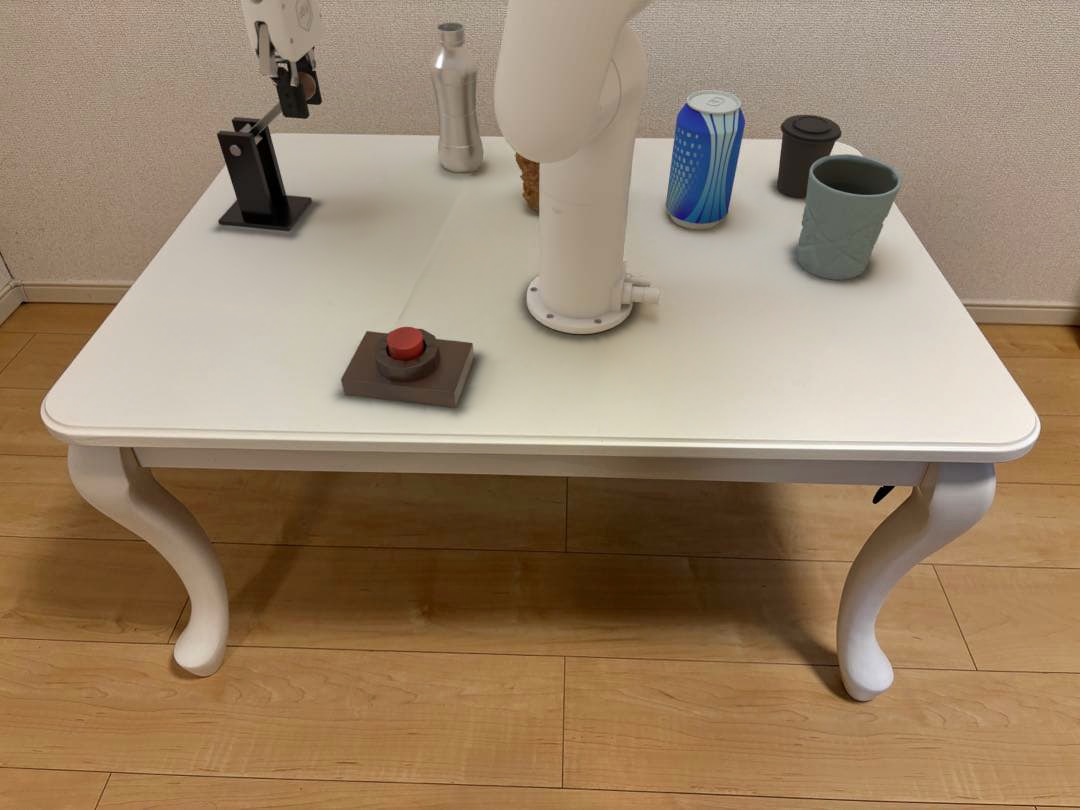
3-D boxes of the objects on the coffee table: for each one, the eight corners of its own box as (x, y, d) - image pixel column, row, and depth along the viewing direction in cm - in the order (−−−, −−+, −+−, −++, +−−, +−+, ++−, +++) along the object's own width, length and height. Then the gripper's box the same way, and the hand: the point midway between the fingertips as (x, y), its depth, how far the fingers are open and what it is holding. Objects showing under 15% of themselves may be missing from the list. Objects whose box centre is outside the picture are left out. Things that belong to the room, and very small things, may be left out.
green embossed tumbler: (886, 277, 94) (919, 189, 86) (812, 289, 93) (839, 200, 84) (843, 234, 101) (870, 148, 93) (773, 244, 100) (795, 158, 91)
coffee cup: (755, 182, 111) (769, 115, 104) (800, 170, 114) (817, 104, 107) (790, 208, 106) (808, 139, 99) (836, 195, 109) (857, 127, 102)
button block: (474, 358, 84) (471, 329, 81) (455, 408, 78) (452, 380, 75) (369, 346, 85) (363, 317, 82) (344, 394, 80) (337, 366, 77)
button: (428, 341, 80) (426, 328, 79) (418, 363, 78) (416, 350, 77) (395, 337, 81) (393, 324, 79) (384, 359, 78) (382, 346, 77)
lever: (325, 83, 92) (305, 61, 90) (315, 94, 90) (294, 71, 88) (255, 150, 100) (235, 130, 98) (244, 161, 98) (223, 141, 96)
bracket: (313, 204, 107) (292, 115, 98) (290, 235, 102) (265, 143, 93) (246, 198, 108) (219, 110, 99) (220, 228, 103) (189, 137, 94)
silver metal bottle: (478, 180, 112) (468, 37, 98) (434, 176, 113) (418, 33, 99) (489, 160, 116) (481, 20, 102) (446, 156, 117) (433, 17, 103)
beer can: (736, 228, 103) (760, 111, 91) (678, 236, 101) (695, 118, 90) (711, 197, 108) (731, 83, 97) (655, 204, 107) (669, 90, 96)
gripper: (263, -39, 74) (306, 142, 87) (327, -80, 85) (356, 85, 98) (192, -42, 75) (244, 138, 88) (264, -82, 86) (301, 81, 99)
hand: (303, 108), depth 93 cm, fingers closed on lever, 3 cm apart
